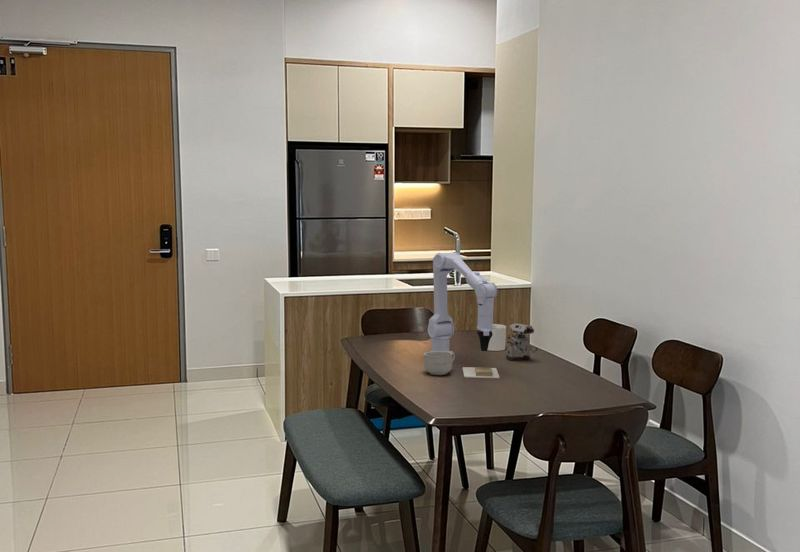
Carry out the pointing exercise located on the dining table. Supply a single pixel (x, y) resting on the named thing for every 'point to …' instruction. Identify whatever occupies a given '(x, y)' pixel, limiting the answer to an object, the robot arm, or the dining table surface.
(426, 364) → the teacup
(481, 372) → the wooden block
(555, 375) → the dining table surface
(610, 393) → the dining table surface
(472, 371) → the mat
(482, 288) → the robot arm
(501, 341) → the toilet tissue
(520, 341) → the figurine
